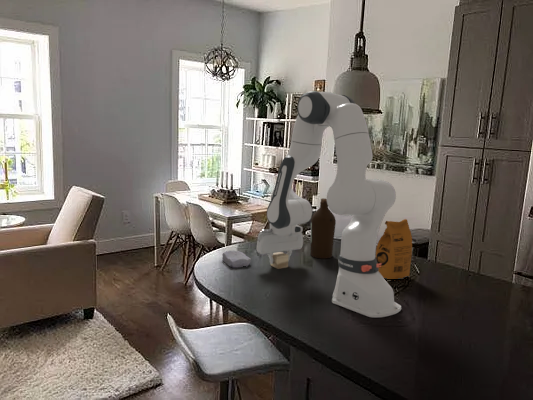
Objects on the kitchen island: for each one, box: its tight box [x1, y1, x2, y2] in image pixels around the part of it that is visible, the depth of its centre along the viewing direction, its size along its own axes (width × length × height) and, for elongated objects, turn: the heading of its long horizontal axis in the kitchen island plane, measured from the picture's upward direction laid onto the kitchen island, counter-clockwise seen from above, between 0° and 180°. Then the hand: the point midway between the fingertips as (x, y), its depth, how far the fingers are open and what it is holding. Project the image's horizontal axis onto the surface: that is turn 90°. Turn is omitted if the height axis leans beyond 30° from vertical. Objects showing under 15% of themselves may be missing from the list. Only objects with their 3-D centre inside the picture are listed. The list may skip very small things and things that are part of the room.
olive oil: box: [309, 198, 337, 260], centre depth 188 cm, size 11×11×25 cm
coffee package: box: [375, 218, 413, 279], centre depth 164 cm, size 10×12×22 cm
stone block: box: [221, 250, 252, 269], centre depth 176 cm, size 12×5×10 cm
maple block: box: [270, 251, 289, 270], centre depth 173 cm, size 5×5×5 cm
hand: (279, 262), depth 173 cm, fingers open, 5 cm apart
